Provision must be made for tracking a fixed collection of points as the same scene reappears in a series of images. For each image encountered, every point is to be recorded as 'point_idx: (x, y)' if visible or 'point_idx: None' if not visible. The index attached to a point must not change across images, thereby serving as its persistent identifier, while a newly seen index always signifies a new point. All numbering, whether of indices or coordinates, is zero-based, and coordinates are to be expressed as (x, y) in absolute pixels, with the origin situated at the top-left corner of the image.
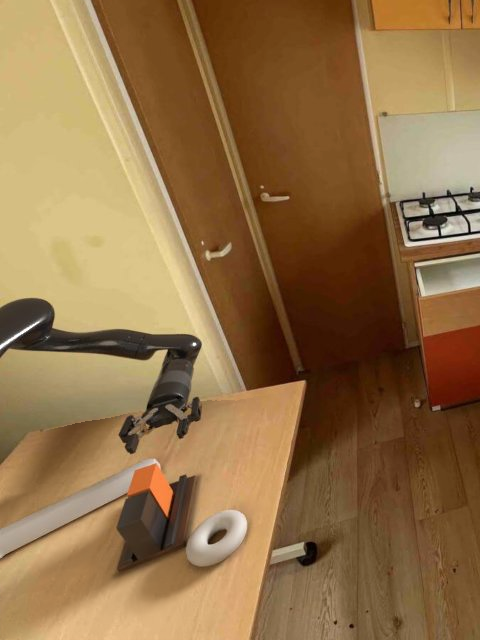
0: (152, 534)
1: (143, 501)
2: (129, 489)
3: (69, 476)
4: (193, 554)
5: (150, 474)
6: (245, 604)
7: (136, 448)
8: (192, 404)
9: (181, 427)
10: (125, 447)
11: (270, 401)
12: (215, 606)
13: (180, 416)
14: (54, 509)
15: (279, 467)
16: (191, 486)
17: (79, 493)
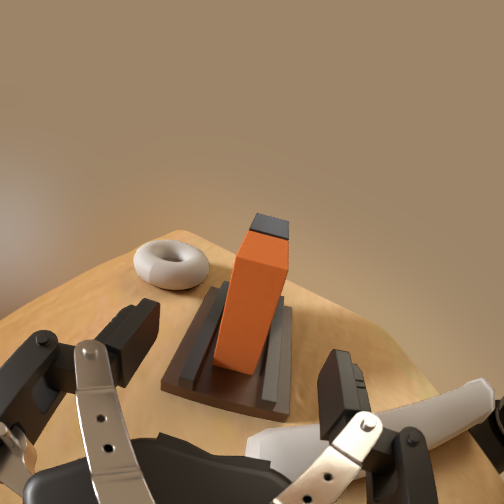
0: None
1: (256, 222)
2: (287, 245)
3: None
4: (201, 251)
5: (249, 245)
6: (174, 234)
7: (319, 399)
8: (6, 404)
9: (131, 316)
10: (356, 366)
11: None
12: (194, 244)
13: (101, 368)
14: (439, 398)
15: (47, 295)
16: (176, 357)
17: (419, 418)
